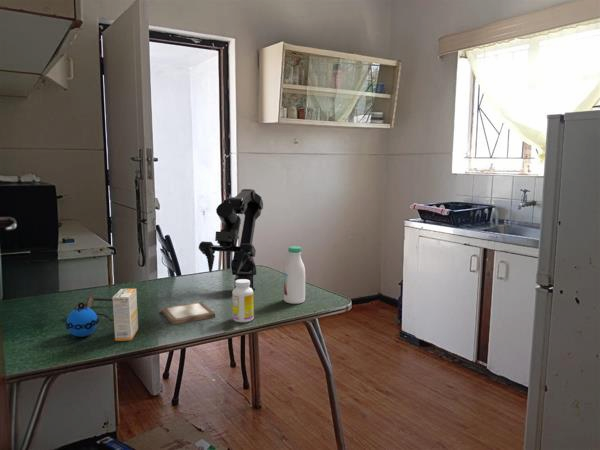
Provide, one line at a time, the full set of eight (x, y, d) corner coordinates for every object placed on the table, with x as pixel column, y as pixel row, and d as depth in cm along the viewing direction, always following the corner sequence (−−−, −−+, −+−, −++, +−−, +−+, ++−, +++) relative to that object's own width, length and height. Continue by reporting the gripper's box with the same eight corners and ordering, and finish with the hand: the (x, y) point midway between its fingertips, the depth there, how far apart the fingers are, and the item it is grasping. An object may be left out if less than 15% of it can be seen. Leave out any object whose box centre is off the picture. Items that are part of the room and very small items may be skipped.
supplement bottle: (255, 316, 153) (255, 278, 151) (251, 323, 147) (251, 284, 145) (235, 315, 154) (234, 277, 152) (230, 322, 148) (229, 283, 146)
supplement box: (122, 330, 140) (120, 288, 139) (138, 330, 141) (136, 288, 139) (114, 341, 132) (111, 296, 130) (131, 340, 133) (129, 296, 131)
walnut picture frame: (201, 305, 164) (201, 301, 164) (215, 317, 152) (215, 313, 152) (161, 311, 157) (160, 307, 157) (172, 324, 145) (172, 320, 145)
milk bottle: (308, 299, 172) (309, 246, 169) (299, 305, 165) (300, 250, 162) (289, 296, 175) (289, 244, 172) (280, 302, 168) (280, 248, 165)
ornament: (74, 344, 130) (71, 309, 129) (62, 335, 136) (59, 302, 134) (104, 335, 136) (102, 302, 135) (91, 328, 142) (89, 296, 141)
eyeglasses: (93, 306, 163) (92, 292, 162) (135, 307, 163) (134, 293, 162) (71, 321, 149) (70, 306, 148) (117, 322, 148) (116, 307, 147)
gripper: (197, 219, 157) (188, 262, 150) (251, 221, 154) (244, 265, 148) (207, 233, 167) (199, 274, 160) (258, 235, 164) (252, 277, 157)
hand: (223, 272), depth 156 cm, fingers open, 9 cm apart
